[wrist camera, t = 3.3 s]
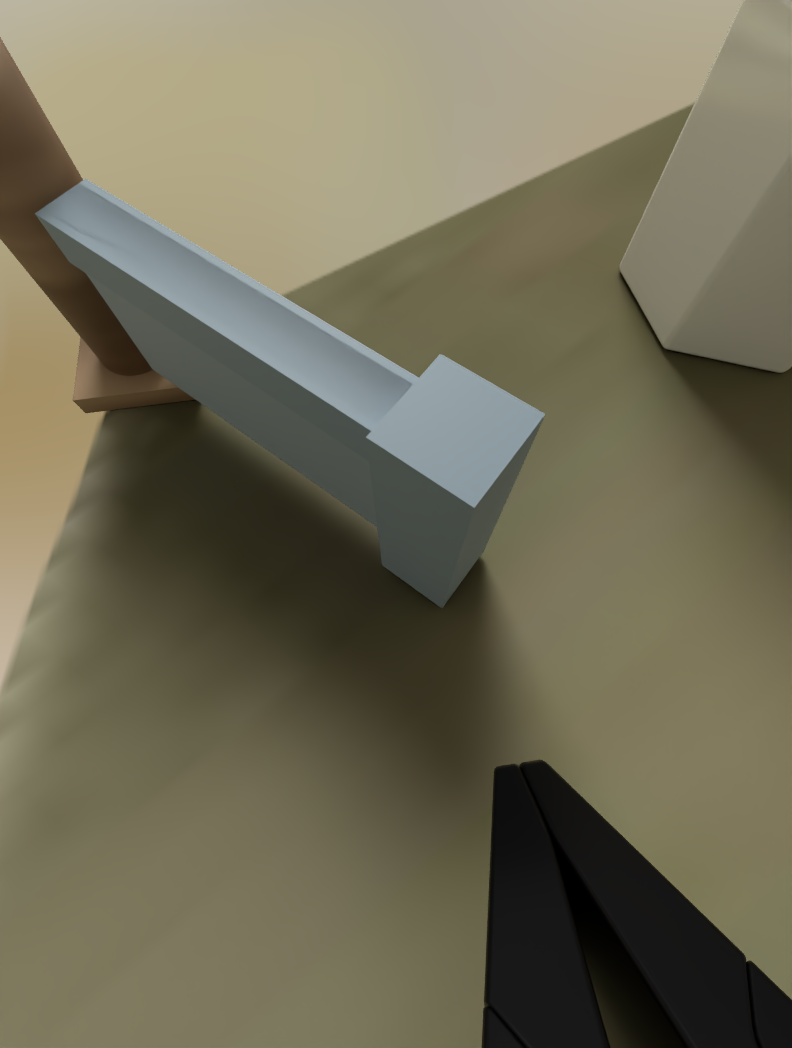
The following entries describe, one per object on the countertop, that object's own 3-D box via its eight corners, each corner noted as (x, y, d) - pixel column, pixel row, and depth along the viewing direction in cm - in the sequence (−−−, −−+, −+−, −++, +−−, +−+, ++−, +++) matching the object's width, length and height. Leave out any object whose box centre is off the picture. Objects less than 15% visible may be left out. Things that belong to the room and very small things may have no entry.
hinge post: (201, 398, 19) (17, 95, 10) (85, 412, 19) (-210, 118, 10) (202, 312, 21) (44, -17, 12) (95, 324, 21) (-151, 0, 12)
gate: (156, 402, 19) (6, 203, 12) (201, 361, 20) (86, 149, 13) (442, 608, 16) (474, 507, 9) (483, 551, 17) (545, 414, 9)
